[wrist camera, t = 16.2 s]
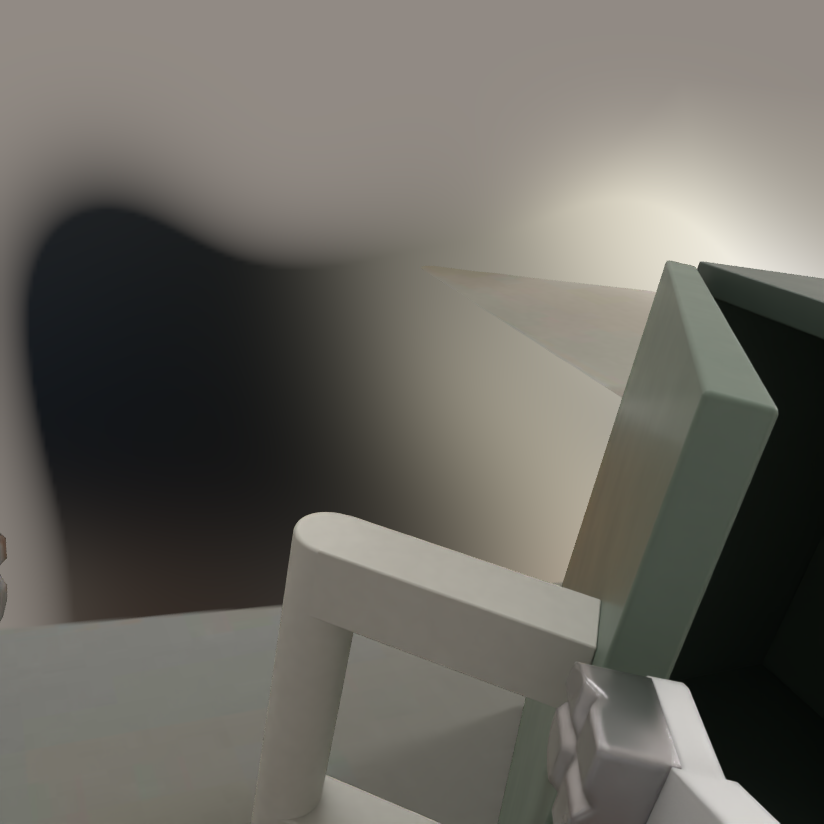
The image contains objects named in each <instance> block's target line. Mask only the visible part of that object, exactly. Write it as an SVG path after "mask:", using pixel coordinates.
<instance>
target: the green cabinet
mask: <svg viewBox="0 0 824 824" xmlns="http://www.w3.org/2000/svg"><path fill="white" fill-rule="evenodd" d="M697 270H698V272H699V274H700V276H701V277H702V279H703V281H704V283H705V284H706V286H707V288H708V289H709V291H710V293H711V295H712V296H713V298H714V300H715V302H716V303H717V305H718V307H719V308H720V310H721V312H722V314H723V315H724V317H725V319H726V321H727V322H728V324H729V326H730V327H731V329H732V331H733V333H734V334H735V336H736V338H737V340H738V341H739V343H740V345H741V346H742V348H743V350H744V352H745V353H746V355H747V357H748V358H749V360H750V362H751V364H752V365H753V367H754V369H755V371H756V372H757V374H758V376H759V377H760V379H761V381H762V383H763V384H764V386H765V388H766V390H767V391H768V393H769V395H770V396H771V398H772V400H773V402H774V403H775V405H776V407H777V409H778V417H777V419H776V422H775V424H774V427H773V429H772V431H771V434H770V436H769V439H768V441H767V443H766V446H765V448H764V451H763V453H762V456H761V458H760V460H759V463H758V465H757V468H756V470H755V472H754V475H753V477H752V480H751V482H750V484H749V487H748V489H747V492H746V494H745V496H744V499H743V501H742V504H741V506H740V509H739V511H738V513H737V516H736V518H735V521H734V523H733V525H732V528H731V530H730V533H729V535H728V537H727V540H726V542H725V545H724V547H723V550H722V552H721V554H720V557H719V559H718V562H717V564H716V566H715V569H714V571H713V574H712V576H711V578H710V581H709V583H708V586H707V588H706V590H705V593H704V595H703V598H702V600H701V603H700V605H699V607H698V610H697V612H696V615H695V617H694V619H693V622H692V624H691V627H690V629H689V631H688V634H687V636H686V639H685V641H684V644H683V646H682V648H681V651H680V653H679V656H678V658H677V660H676V663H675V665H674V668H673V670H672V672H671V675H670V677H669V680H672V681H677V682H682V683H684V684H685V685H686V686H687V687H688V688H689V690H690V692H691V695H692V697H693V700H694V702H695V705H696V707H697V710H698V712H699V714H700V717H701V719H702V722H703V724H704V727H705V729H706V732H707V734H708V737H709V739H710V742H711V744H712V747H713V749H714V751H715V754H716V756H717V759H718V761H719V764H720V766H721V769H722V771H723V774H724V776H725V779H726V780H730V781H734V782H738V783H739V784H740V785H741V786H742V787H743V788H744V789H745V790H746V791H747V792H748V793H749V794H750V795H751V796H752V797H753V798H754V799H755V800H756V801H757V802H758V803H759V804H760V805H761V806H763V807H764V808H765V809H766V810H767V811H768V812H769V813H770V814H771V815H772V816H773V817H774V818H775V819H776V820H777V821H778V822H779V823H780V824H824V279H822V278H815V277H808V276H801V275H794V274H787V273H780V272H773V271H765V270H758V269H751V268H744V267H737V266H730V265H723V264H715V263H709V262H700V263H699V265H698V268H697Z"/></svg>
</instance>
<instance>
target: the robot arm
mask: <svg viewBox="0 0 824 824" xmlns="http://www.w3.org/2000/svg"><path fill="white" fill-rule="evenodd" d="M6 558H7V554H6V538H5V537H4V536H3V535H1V534H0V565H1V564H2V563H3V562H4V561H5V559H6ZM6 602H7V584H6V583H5V582H4V580H3V578H2V577H1V575H0V621H1V619H2V617H3V614H4V610H5V606H6ZM565 686H566V693H567V699H568V701H567V702H565V703H564V704H562V705H561V706H559V707H558V708H556V711H555V714H554V717H553V720H552V723H551V726H550V731H549V738H548V744H547V772H548V780H549V782H550V783H551V784H552V786H553V787H554V788H555V789H556V791H557V792H558V793H557V796H556V799H555V802H554V804H553V807H552V817H553V824H780V823H779V822H778V821H777V820H776V819H775V818H774V817H773V816H772V815H771V814H770V813H769V812H768V811H767V810H766V809H765V808H764V807H763V806H761V805H760V804H759V803H758V802H757V801H756V800H755V799H754V798H753V797H752V796H751V795H750V794H749V793H748V792H747V791H746V790H745V789H744V788H743V787H742V786H741V785H740V784H739V783H738V782H734V781H730V780H726V779H725V776H724V774H723V771H722V769H721V766H720V764H719V761H718V759H717V756H716V754H715V751H714V749H713V747H712V744H711V742H710V739H709V737H708V734H707V732H706V729H705V727H704V724H703V722H702V719H701V717H700V714H699V712H698V710H697V707H696V705H695V702H694V700H693V697H692V695H691V692H690V690H689V688H688V687H687V686H686V685H685V684H684V683H682V682H677V681H672V680H667V679H661V678H656V677H651V676H647V677H645V676H640V675H636V674H631V673H627V672H622V671H618V670H613V669H608V668H604V667H599V666H595V665H590V664H586V663H581V662H577V661H576V662H575V663H574V665H573V666H572V668H571V669H570V672H569V675H568V677H567V680H566V683H565Z"/></svg>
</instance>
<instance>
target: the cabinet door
mask: <svg viewBox="0 0 824 824" xmlns="http://www.w3.org/2000/svg"><path fill="white" fill-rule="evenodd" d="M777 417H778V409H777V407H776V405H775V403H774V402H773V400H772V398H771V396H770V395H769V393H768V391H767V390H766V388H765V386H764V384H763V383H762V381H761V379H760V377H759V376H758V374H757V372H756V371H755V369H754V367H753V365H752V364H751V362H750V360H749V358H748V357H747V355H746V353H745V352H744V350H743V348H742V346H741V345H740V343H739V341H738V340H737V338H736V336H735V334H734V333H733V331H732V329H731V327H730V326H729V324H728V322H727V321H726V319H725V317H724V315H723V314H722V312H721V310H720V308H719V307H718V305H717V303H716V302H715V300H714V298H713V296H712V295H711V293H710V291H709V289H708V288H707V286H706V284H705V283H704V281H703V279H702V277H701V276H700V274H699V272H698V270H697V269H696V267H694V266H691V265H687V264H682V263H678V262H674V261H667V262H666V264H665V267H664V270H663V273H662V276H661V279H660V283H659V285H658V289H657V292H656V295H655V298H654V301H653V304H652V307H651V310H650V313H649V317H648V320H647V323H646V326H645V329H644V332H643V335H642V338H641V341H640V345H639V348H638V351H637V354H636V357H635V360H634V363H633V366H632V369H631V373H630V376H629V379H628V382H627V385H626V388H625V391H624V394H623V397H622V400H621V404H620V407H619V410H618V413H617V416H616V419H615V422H614V425H613V428H612V432H611V435H610V438H609V441H608V444H607V447H606V450H605V453H604V457H603V460H602V463H601V466H600V469H599V472H598V475H597V478H596V482H595V484H594V488H593V491H592V494H591V497H590V500H589V503H588V506H587V510H586V512H585V515H584V519H583V522H582V525H581V528H580V531H579V534H578V537H577V540H576V543H575V547H574V550H573V553H572V556H571V559H570V562H569V565H568V568H567V571H566V575H565V578H564V581H563V584H562V587H561V586H558V585H555V584H552V583H549V582H546V581H543V580H540V579H537V578H534V577H531V576H528V575H525V574H522V573H519V572H516V571H513V570H510V569H507V568H504V567H501V566H498V565H495V564H492V563H489V562H486V561H483V560H480V559H477V558H474V557H471V556H469V555H465V554H462V553H460V552H456V551H453V550H451V549H448V548H445V547H442V546H439V545H436V544H433V543H430V542H427V541H424V540H421V539H417V538H415V537H412V536H408V535H406V534H403V533H400V532H397V531H394V530H391V529H388V528H385V527H382V526H379V525H376V524H373V523H370V522H367V521H364V520H361V519H358V518H355V517H352V516H347V515H344V514H339V513H331V512H319V513H314V514H310V515H307V516H305V517H303V518H302V519H300V520H299V521H298V523H297V524H296V525H295V527H294V531H293V539H292V545H291V552H290V559H289V566H288V573H287V580H286V586H285V593H284V600H283V607H282V614H281V621H280V628H279V635H278V641H277V648H276V655H275V662H274V669H273V676H272V683H271V690H270V697H269V704H268V710H267V717H266V724H265V731H264V738H263V745H262V752H261V759H260V766H259V773H258V779H257V786H256V793H255V800H254V807H253V814H252V821H251V824H441V823H438V822H436V821H434V820H431V819H429V818H427V817H424V816H422V815H420V814H417V813H415V812H412V811H410V810H408V809H405V808H403V807H401V806H398V805H396V804H394V803H391V802H389V801H387V800H384V799H382V798H380V797H377V796H375V795H372V794H370V793H368V792H365V791H363V790H361V789H358V788H356V787H354V786H351V785H349V784H347V783H344V782H342V781H339V780H337V779H335V778H332V777H330V776H328V775H326V771H327V766H328V761H329V755H330V750H331V745H332V740H333V735H334V730H335V724H336V719H337V714H338V709H339V704H340V699H341V694H342V688H343V683H344V678H345V673H346V668H347V663H348V657H349V652H350V647H351V642H352V637H353V632H354V633H356V634H359V635H362V636H364V637H367V638H370V639H372V640H375V641H378V642H381V643H383V644H386V645H389V646H391V647H394V648H397V649H399V650H402V651H405V652H407V653H410V654H413V655H415V656H418V657H421V658H423V659H426V660H429V661H431V662H434V663H437V664H439V665H442V666H445V667H447V668H450V669H453V670H455V671H458V672H461V673H463V674H466V675H469V676H471V677H474V678H477V679H480V680H482V681H485V682H488V683H490V684H493V685H496V686H498V687H501V688H504V689H506V690H509V691H512V692H514V693H517V694H520V695H522V696H525V697H526V699H525V703H524V708H523V712H522V717H521V721H520V726H519V730H518V735H517V739H516V744H515V748H514V753H513V757H512V762H511V766H510V771H509V775H508V780H507V784H506V789H505V793H504V798H503V802H502V807H501V811H500V816H499V820H498V824H553V817H552V807H553V804H554V802H555V799H556V796H557V793H558V792H557V791H556V789H555V788H554V787H553V786H552V784H551V783H550V782H549V780H548V772H547V744H548V738H549V731H550V726H551V723H552V720H553V717H554V714H555V711H556V708H558V707H559V706H561V705H562V704H564V703H565V702H567V701H568V699H567V693H566V686H565V683H566V680H567V677H568V675H569V672H570V669H571V668H572V666H573V665H574V663H575V662H576V661H577V662H581V663H586V664H590V665H595V666H599V667H604V668H608V669H613V670H618V671H622V672H627V673H631V674H636V675H640V676H645V677H647V676H651V677H656V678H661V679H667V680H669V677H670V675H671V672H672V670H673V668H674V665H675V663H676V660H677V658H678V656H679V653H680V651H681V648H682V646H683V644H684V641H685V639H686V636H687V634H688V631H689V629H690V627H691V624H692V622H693V619H694V617H695V615H696V612H697V610H698V607H699V605H700V603H701V600H702V598H703V595H704V593H705V590H706V588H707V586H708V583H709V581H710V578H711V576H712V574H713V571H714V569H715V566H716V564H717V562H718V559H719V557H720V554H721V552H722V550H723V547H724V545H725V542H726V540H727V537H728V535H729V533H730V530H731V528H732V525H733V523H734V521H735V518H736V516H737V513H738V511H739V509H740V506H741V504H742V501H743V499H744V496H745V494H746V492H747V489H748V487H749V484H750V482H751V480H752V477H753V475H754V472H755V470H756V468H757V465H758V463H759V460H760V458H761V456H762V453H763V451H764V448H765V446H766V443H767V441H768V439H769V436H770V434H771V431H772V429H773V427H774V424H775V422H776V419H777Z"/></svg>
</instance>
